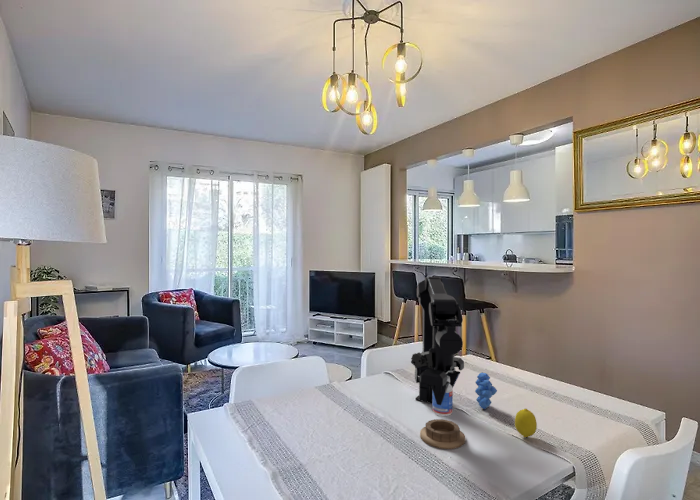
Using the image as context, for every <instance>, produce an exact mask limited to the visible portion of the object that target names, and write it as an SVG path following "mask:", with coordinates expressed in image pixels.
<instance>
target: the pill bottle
mask: <svg viewBox="0 0 700 500" xmlns="http://www.w3.org/2000/svg"><path fill="white" fill-rule="evenodd" d="M447 381H448V382H449V383H450V377H449V376H447ZM453 388H454V387H453ZM453 388H452V386H451V385H450V384H449V385H448V388H447V390H446V393H445V396H444V399H443V401H442V404H441V405H437V403H436V399H435V396H434V393H433V403H432V413H434V414H435V415H436V416H445V417H446V416H450V415H452V414H453V410H454V409H453V407H454V405H453V403H454V402H453V397H454V396H453V395H454V394H453V393H454V392H453V391H454V390H453Z"/></svg>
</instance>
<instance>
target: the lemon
mask: <svg viewBox="0 0 700 500" xmlns="http://www.w3.org/2000/svg"><path fill="white" fill-rule="evenodd" d="M514 418H515V419H514V426H515V428H516V431H517V433H518V434H519V435H520V436H523V437H524V438H525V437H527V438H528V437H531V436H533V435H535V433H536V431H537V427H538V422H537V417H536V416H535V414H534V413H533V412H532V411H531V410H529V409H528V408H523V409H520V410H518V411H517V412H516V414H515V417H514Z"/></svg>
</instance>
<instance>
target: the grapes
mask: <svg viewBox="0 0 700 500" xmlns="http://www.w3.org/2000/svg"><path fill="white" fill-rule="evenodd" d="M476 377H477V379H476V381H475V384H476V386H477V388H476V389H475V391H474V392H475V394H476V395H477V398H476V402H477V403H478V406H479V407H480V408H481V409H482V408H483V410H486V409H487V408H489V407H490V405H491V404H492V400H491V398H492V397H493V396H494V395H495V394H497V392H498V390H497V388H496V387H495V386H493V383H492V382H491V380H490V379H491V377H490V376H489V374H488V373H486V372H480V373H479V374H478V375H477V376H476Z"/></svg>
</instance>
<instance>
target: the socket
mask: <svg viewBox="0 0 700 500" xmlns="http://www.w3.org/2000/svg"><path fill="white" fill-rule="evenodd" d="M419 433H420V434H419V437H420V438H419V439H421V441H422V442H423V443H425V444H426V445H427V446H430V447H433V448H436V449H439V450H440V449H441V450H453V449H454V450H455V449H458V448H462V447H463V446H464V445H465V444H466V435H465V433H464V432H463V431H462V430H461V428H460V426H459V424H457V423H456V422H454V421H451V420H447V419H443V418H442V419H440V418H438V419H437V418H436V419H430V420H428V421H427V422H426V423H425V426H424V427H422V428H421V429H420V432H419Z"/></svg>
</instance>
